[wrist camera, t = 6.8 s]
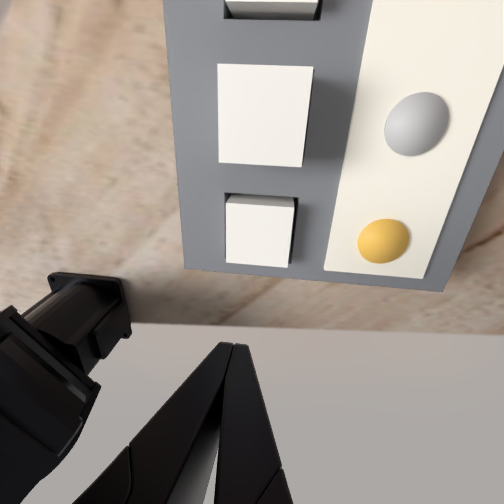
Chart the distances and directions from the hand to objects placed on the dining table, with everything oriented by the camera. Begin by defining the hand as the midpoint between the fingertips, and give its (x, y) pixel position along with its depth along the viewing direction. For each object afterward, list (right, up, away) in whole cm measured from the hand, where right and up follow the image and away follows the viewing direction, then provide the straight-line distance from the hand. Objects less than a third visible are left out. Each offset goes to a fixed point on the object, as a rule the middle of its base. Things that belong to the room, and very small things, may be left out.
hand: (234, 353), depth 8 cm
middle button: (+1, +10, +6) cm, 12 cm away
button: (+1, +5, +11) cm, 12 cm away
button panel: (+5, +11, +9) cm, 15 cm away
